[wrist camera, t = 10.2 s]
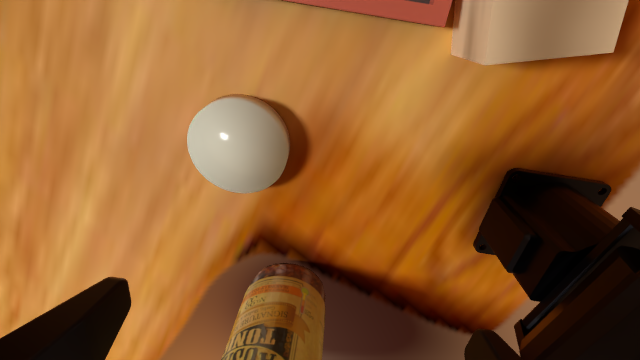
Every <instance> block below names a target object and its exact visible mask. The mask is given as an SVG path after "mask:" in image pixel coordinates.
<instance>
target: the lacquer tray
mask: <svg viewBox="0 0 640 360" xmlns="http://www.w3.org/2000/svg"><path fill="white" fill-rule="evenodd" d="M282 1H288V2H294V3H300V4H306V5H312V6H318V7H324V8H330V9H335V10H341V11H347V12H353V13H359V14H365V15H371V16H377V17H383V18H389V19H395V20H401V21H407V22H413V23H419V24H425V25H431V26H439V27H445V24H446V20H447V17H448V14H449V10H450V7H451V4H452V0H282Z"/></svg>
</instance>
